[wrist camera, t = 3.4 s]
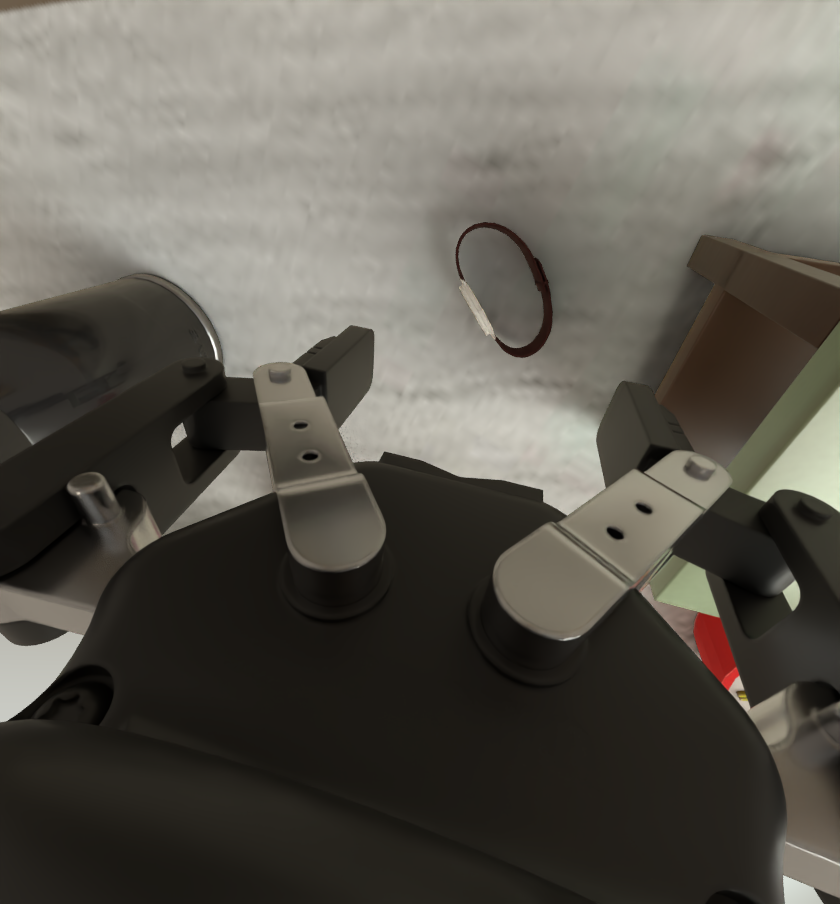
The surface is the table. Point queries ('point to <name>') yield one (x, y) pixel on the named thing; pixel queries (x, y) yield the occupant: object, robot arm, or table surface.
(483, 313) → the watch
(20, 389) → the robot arm
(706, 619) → the toy clock
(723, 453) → the small side table
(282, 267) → the table surface
